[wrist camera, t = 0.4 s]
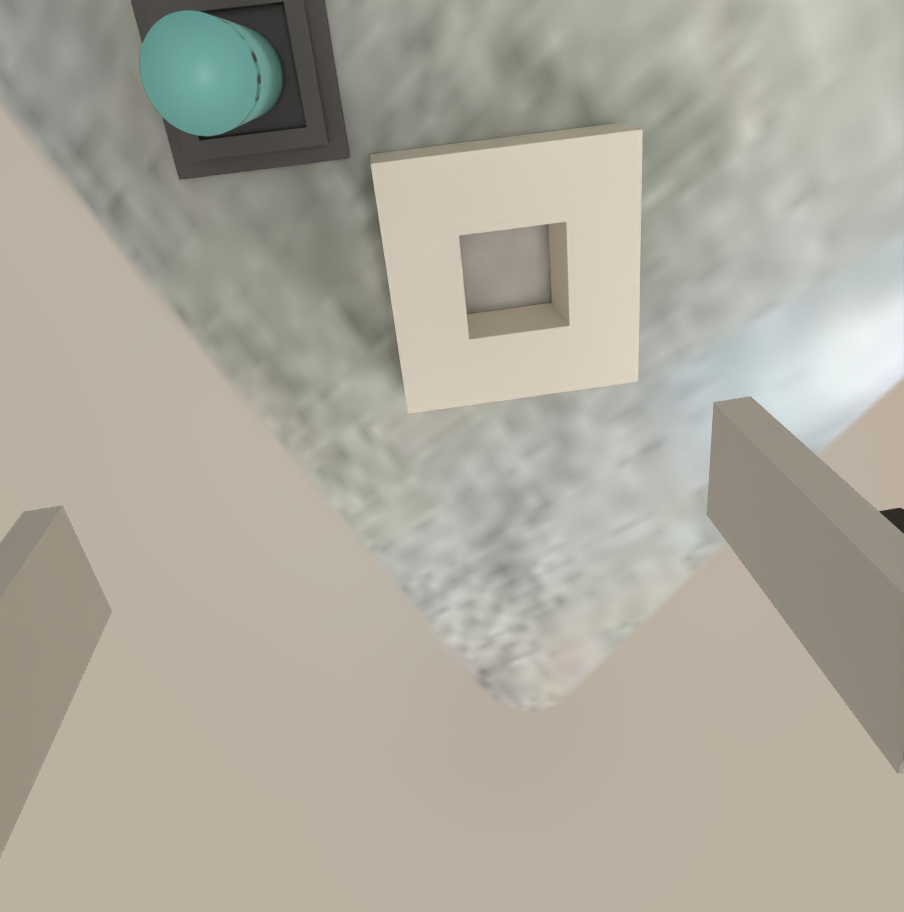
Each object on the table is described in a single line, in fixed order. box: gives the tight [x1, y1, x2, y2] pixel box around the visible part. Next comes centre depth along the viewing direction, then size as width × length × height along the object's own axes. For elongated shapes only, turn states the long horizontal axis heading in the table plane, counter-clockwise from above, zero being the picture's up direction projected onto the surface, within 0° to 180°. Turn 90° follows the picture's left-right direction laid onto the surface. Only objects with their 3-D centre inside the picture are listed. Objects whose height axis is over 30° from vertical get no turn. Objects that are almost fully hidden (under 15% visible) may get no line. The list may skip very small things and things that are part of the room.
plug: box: [139, 10, 285, 136], centre depth 28 cm, size 4×4×10 cm
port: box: [370, 123, 643, 414], centre depth 36 cm, size 12×12×4 cm
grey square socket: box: [131, 0, 350, 180], centre depth 32 cm, size 8×8×2 cm
